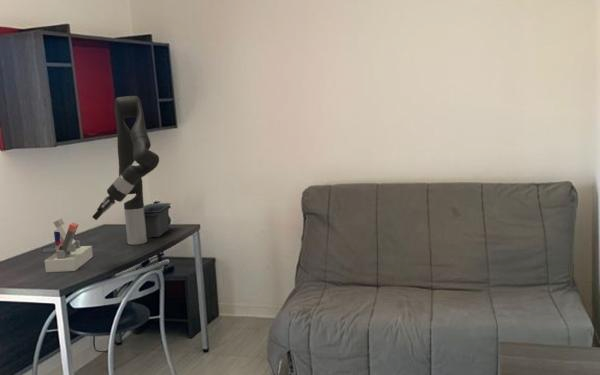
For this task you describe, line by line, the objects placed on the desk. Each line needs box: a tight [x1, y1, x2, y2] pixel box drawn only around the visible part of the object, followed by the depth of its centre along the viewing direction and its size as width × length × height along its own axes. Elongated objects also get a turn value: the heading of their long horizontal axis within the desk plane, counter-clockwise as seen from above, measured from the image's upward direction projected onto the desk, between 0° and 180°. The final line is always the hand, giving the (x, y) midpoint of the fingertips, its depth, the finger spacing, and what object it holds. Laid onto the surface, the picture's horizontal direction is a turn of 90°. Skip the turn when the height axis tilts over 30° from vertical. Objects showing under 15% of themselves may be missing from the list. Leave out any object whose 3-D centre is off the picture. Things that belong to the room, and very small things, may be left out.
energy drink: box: [53, 229, 64, 252], centre depth 273 cm, size 5×5×12 cm
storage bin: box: [144, 202, 172, 239], centre depth 308 cm, size 21×16×14 cm
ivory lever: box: [52, 218, 77, 248], centre depth 263 cm, size 4×2×14 cm, turn 0°
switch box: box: [44, 240, 94, 273], centre depth 259 cm, size 22×12×8 cm, turn 0°
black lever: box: [61, 222, 80, 255], centre depth 252 cm, size 4×2×14 cm, turn 0°
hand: (94, 218), depth 250 cm, fingers closed
